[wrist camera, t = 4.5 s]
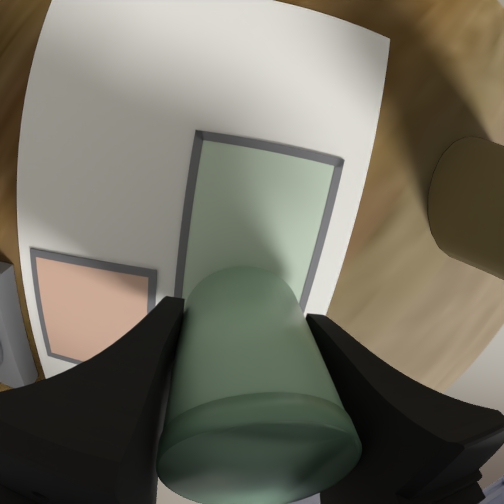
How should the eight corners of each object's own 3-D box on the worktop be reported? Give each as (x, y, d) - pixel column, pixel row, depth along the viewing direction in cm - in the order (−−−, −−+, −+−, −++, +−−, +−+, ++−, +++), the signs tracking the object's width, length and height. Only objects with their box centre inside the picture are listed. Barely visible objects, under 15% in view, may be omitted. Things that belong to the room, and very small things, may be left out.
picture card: (282, 411, 15) (284, 420, 14) (50, 374, 13) (45, 382, 12) (382, 42, 9) (391, 38, 8) (58, 4, 7) (50, -2, 6)
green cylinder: (283, 350, 12) (325, 501, 6) (183, 343, 12) (164, 503, 5) (304, 259, 11) (395, 408, 4) (188, 247, 10) (144, 409, 4)
